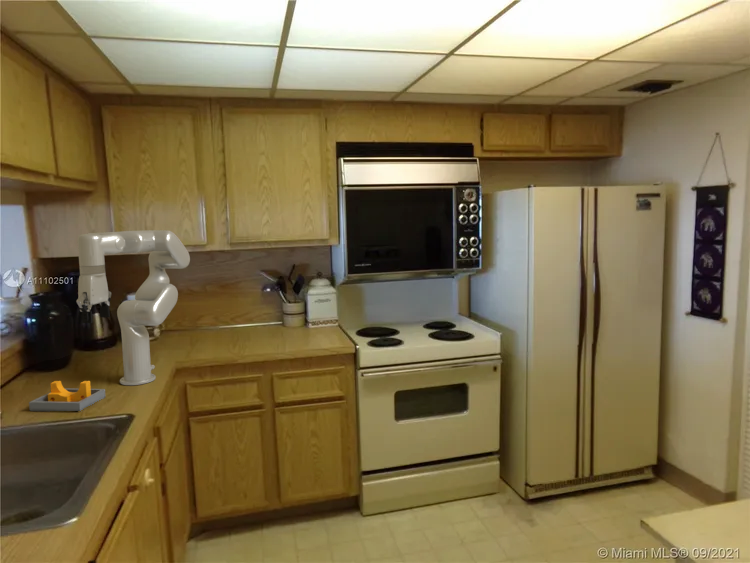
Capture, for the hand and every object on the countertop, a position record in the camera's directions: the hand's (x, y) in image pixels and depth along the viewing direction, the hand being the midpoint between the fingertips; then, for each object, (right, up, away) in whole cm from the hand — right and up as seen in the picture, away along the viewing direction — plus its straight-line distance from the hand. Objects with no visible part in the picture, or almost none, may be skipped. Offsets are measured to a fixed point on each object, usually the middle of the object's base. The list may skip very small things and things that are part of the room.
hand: (96, 320), depth 171 cm
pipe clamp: (-8, -28, -2) cm, 29 cm away
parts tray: (-8, -28, -3) cm, 29 cm away
